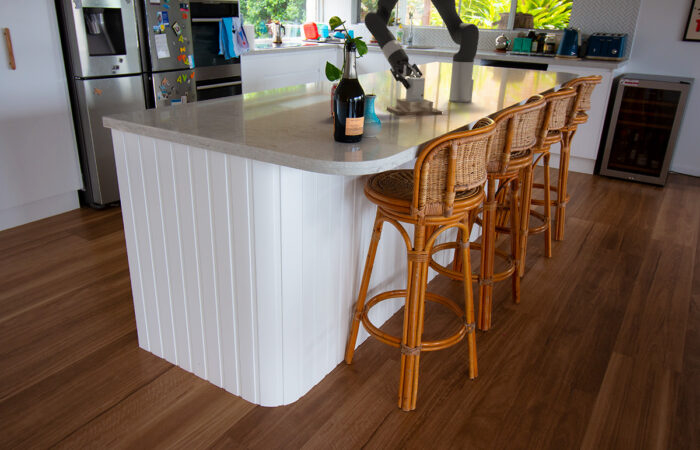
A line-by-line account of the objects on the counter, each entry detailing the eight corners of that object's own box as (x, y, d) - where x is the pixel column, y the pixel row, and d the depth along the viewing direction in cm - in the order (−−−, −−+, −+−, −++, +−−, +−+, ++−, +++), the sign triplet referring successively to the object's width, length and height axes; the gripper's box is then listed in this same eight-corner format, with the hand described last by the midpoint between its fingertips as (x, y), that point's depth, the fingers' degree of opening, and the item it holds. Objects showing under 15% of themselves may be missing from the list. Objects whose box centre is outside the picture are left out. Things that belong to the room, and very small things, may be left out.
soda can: (349, 118, 202) (350, 85, 198) (330, 118, 202) (330, 85, 198) (349, 115, 209) (350, 83, 205) (331, 114, 209) (331, 82, 205)
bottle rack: (427, 108, 228) (428, 97, 226) (441, 114, 215) (442, 102, 213) (386, 109, 223) (387, 98, 221) (399, 115, 210) (399, 103, 208)
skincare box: (411, 110, 215) (413, 78, 211) (404, 108, 219) (406, 77, 214) (423, 109, 219) (425, 78, 214) (416, 107, 222) (418, 76, 218)
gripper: (388, 48, 211) (409, 82, 208) (412, 47, 220) (432, 79, 217) (378, 62, 217) (398, 94, 213) (401, 60, 226) (421, 91, 223)
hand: (415, 87), depth 215 cm, fingers open, 8 cm apart
